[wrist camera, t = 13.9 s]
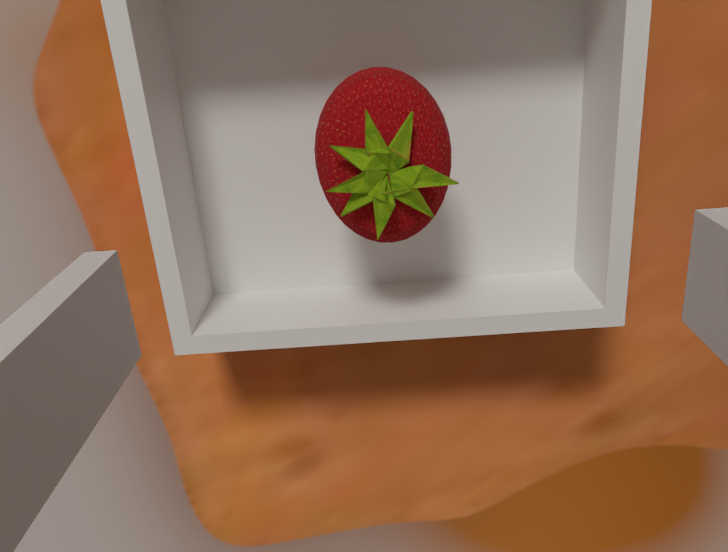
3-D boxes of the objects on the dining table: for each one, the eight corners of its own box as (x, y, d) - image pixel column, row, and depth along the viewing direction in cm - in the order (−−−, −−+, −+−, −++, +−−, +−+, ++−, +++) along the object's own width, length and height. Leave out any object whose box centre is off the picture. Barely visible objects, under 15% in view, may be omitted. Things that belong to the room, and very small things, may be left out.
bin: (139, -39, 31) (90, -50, 25) (606, -79, 30) (660, -99, 25) (203, 304, 38) (175, 355, 32) (585, 278, 37) (624, 325, 31)
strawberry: (432, 50, 31) (460, 66, 22) (444, 200, 34) (473, 270, 25) (312, 66, 32) (289, 88, 22) (333, 213, 35) (321, 287, 25)
